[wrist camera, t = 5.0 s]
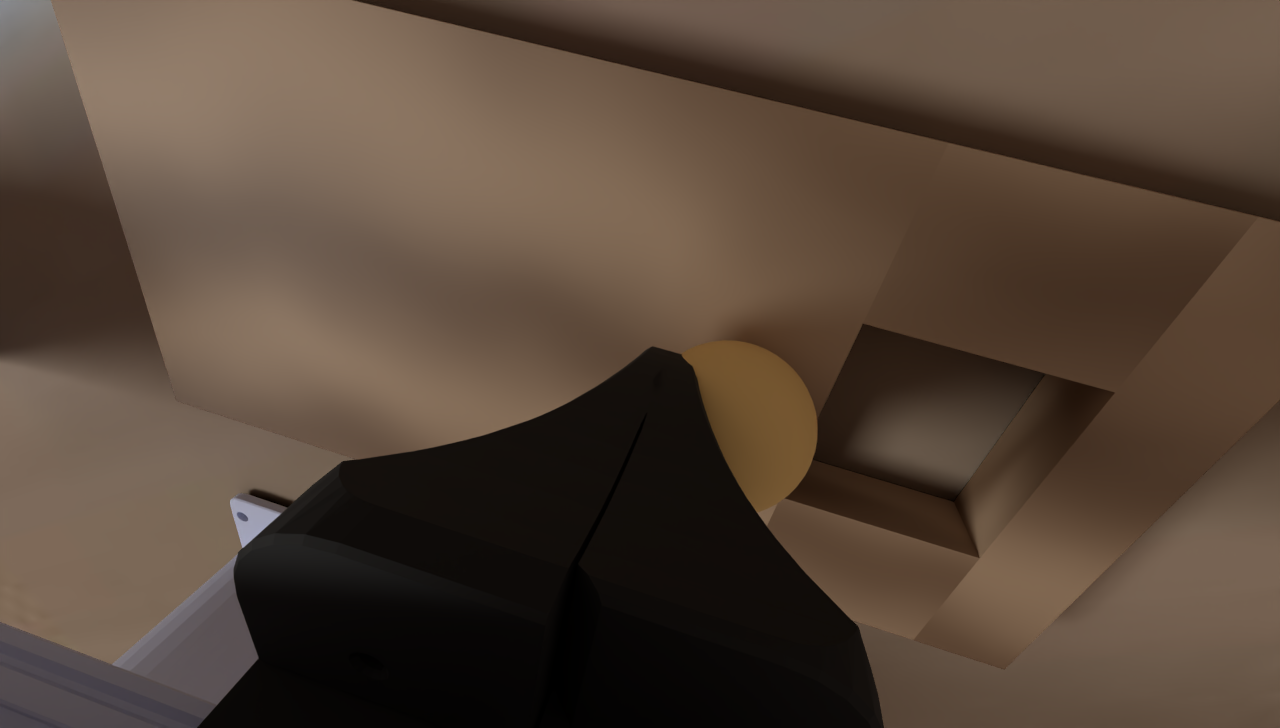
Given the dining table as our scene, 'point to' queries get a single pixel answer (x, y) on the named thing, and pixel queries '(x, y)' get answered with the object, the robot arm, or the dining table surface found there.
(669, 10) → the dining table surface
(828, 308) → the hole board
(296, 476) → the dining table surface
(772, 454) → the ball
